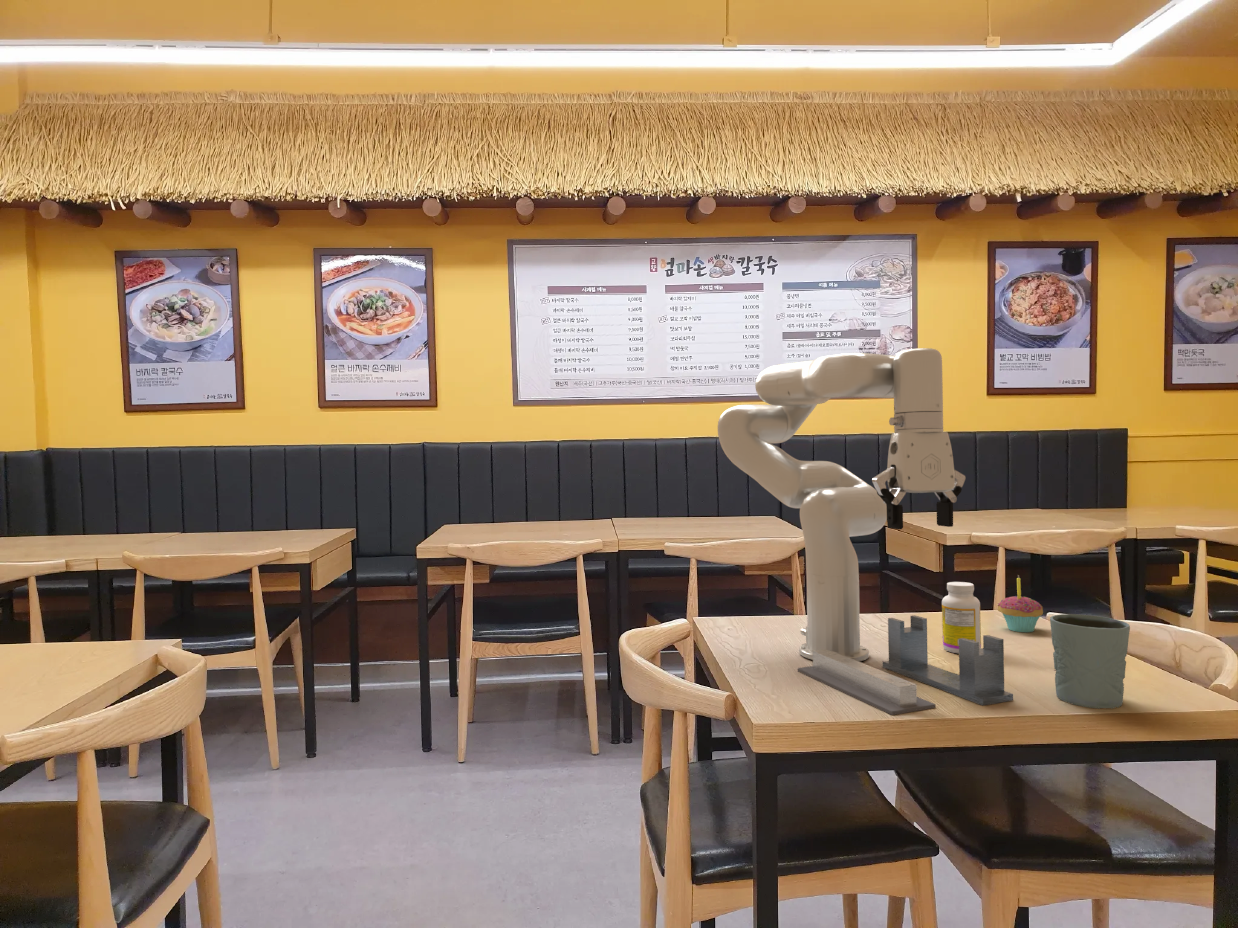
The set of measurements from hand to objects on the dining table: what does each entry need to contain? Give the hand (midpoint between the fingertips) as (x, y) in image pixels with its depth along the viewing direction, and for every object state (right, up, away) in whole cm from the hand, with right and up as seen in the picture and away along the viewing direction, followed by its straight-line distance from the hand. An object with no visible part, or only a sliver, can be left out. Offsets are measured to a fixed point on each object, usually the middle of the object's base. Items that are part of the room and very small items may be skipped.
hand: (920, 527), depth 121 cm
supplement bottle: (+16, -25, +18) cm, 35 cm away
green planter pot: (+22, -26, -10) cm, 35 cm away
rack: (+3, -26, -1) cm, 26 cm away
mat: (-11, -26, -3) cm, 28 cm away
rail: (-11, -25, -3) cm, 28 cm away
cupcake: (+35, -25, +34) cm, 55 cm away
